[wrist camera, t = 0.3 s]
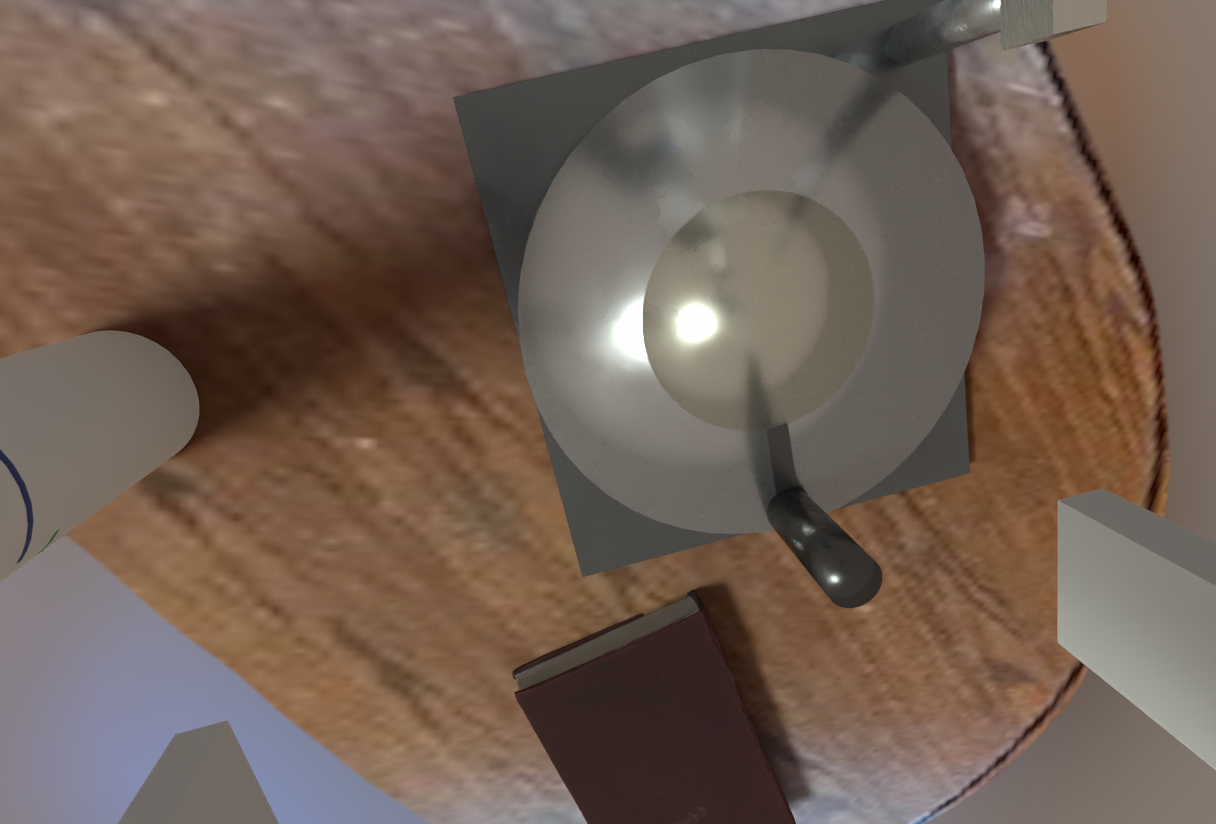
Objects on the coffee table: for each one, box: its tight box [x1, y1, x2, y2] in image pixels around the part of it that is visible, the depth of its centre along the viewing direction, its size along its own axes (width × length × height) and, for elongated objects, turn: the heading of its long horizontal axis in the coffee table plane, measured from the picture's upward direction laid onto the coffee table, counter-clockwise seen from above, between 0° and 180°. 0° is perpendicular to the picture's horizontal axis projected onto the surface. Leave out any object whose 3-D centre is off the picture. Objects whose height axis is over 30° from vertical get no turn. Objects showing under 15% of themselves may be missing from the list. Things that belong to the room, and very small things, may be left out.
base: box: [453, 0, 1107, 577], centre depth 31 cm, size 26×24×12 cm
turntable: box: [518, 49, 985, 608], centre depth 31 cm, size 24×24×10 cm
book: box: [513, 591, 796, 824], centre depth 43 cm, size 12×19×3 cm, turn 22°
